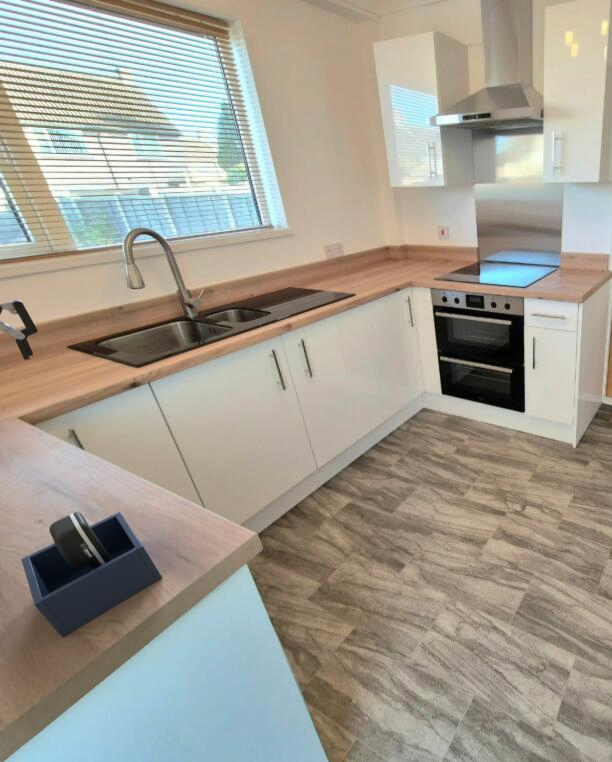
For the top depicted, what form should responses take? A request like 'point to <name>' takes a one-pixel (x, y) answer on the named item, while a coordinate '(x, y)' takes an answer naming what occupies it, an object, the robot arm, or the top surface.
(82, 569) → the bin
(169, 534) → the top surface
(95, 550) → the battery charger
